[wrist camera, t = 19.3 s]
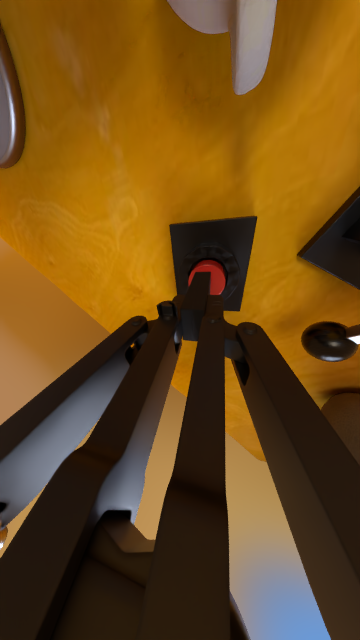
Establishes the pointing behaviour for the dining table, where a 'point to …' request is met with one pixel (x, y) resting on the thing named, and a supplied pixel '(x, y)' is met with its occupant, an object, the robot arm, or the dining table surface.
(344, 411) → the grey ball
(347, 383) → the dining table surface
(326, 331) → the lever
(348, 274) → the black lever stand
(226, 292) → the black button base
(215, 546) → the robot arm
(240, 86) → the teacup
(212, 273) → the button
